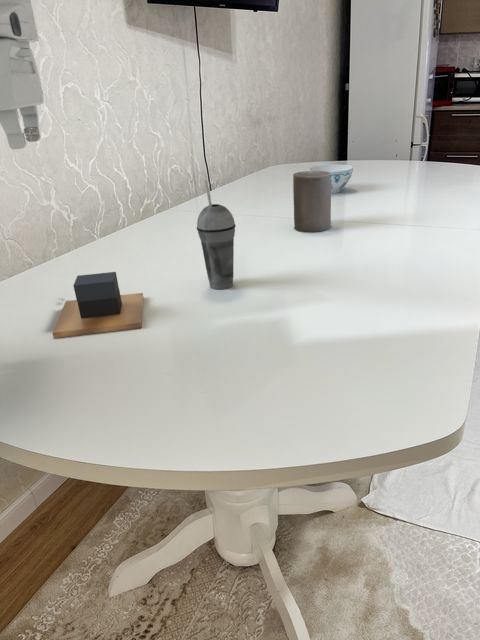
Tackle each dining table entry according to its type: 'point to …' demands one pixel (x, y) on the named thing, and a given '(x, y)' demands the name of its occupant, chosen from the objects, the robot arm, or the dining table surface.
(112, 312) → the pad bottom
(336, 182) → the chinaware
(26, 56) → the robot arm
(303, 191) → the pillar candle
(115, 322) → the cork mat
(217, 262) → the beverage cup
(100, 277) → the pad top
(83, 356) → the dining table surface
